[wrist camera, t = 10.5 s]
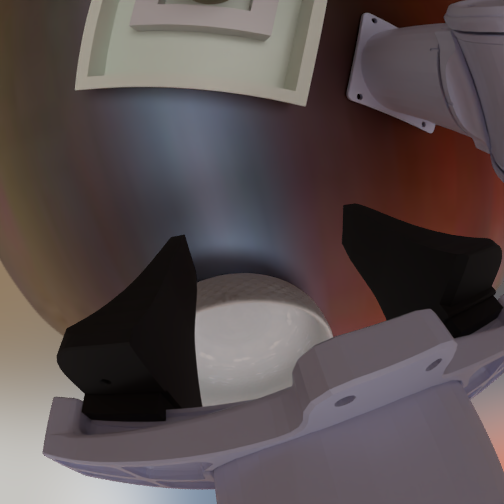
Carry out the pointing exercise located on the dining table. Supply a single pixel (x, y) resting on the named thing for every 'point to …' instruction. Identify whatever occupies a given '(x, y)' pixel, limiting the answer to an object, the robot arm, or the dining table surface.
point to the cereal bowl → (252, 335)
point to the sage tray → (203, 46)
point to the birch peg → (210, 1)
